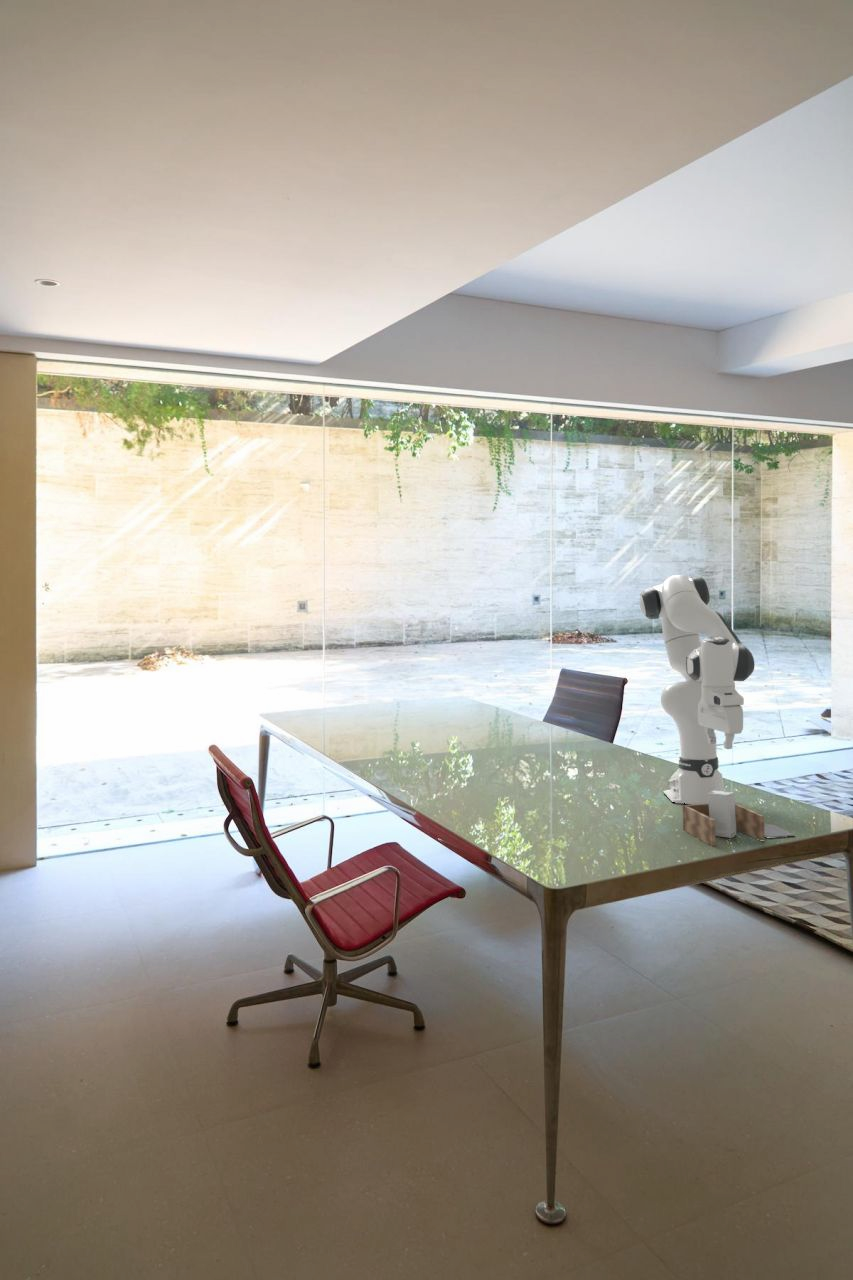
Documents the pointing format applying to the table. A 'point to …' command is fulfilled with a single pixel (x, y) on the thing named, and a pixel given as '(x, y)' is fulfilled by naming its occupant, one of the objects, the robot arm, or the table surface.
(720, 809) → the skincare box
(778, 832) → the charcoal mat
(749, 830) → the walnut u-shaped frame
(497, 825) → the table surface
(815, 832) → the table surface
